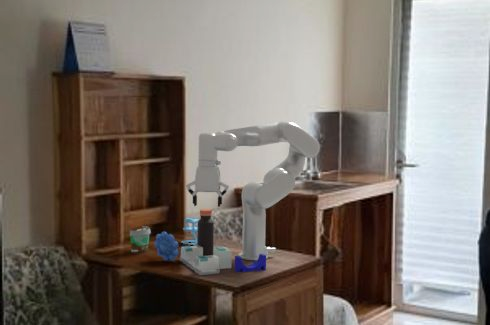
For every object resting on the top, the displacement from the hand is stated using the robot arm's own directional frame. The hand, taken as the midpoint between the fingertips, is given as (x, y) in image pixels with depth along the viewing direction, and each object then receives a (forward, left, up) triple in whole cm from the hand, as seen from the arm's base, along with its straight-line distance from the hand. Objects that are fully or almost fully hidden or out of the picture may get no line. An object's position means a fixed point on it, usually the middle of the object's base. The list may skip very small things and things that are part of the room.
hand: (207, 205), depth 290 cm
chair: (-6, -34, -23) cm, 42 cm away
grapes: (+16, -5, -23) cm, 29 cm away
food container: (+20, -25, -23) cm, 40 cm away
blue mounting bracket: (-11, +18, -23) cm, 32 cm away
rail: (+6, +8, -23) cm, 25 cm away
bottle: (-2, -7, -23) cm, 24 cm away
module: (-3, +10, -23) cm, 25 cm away
